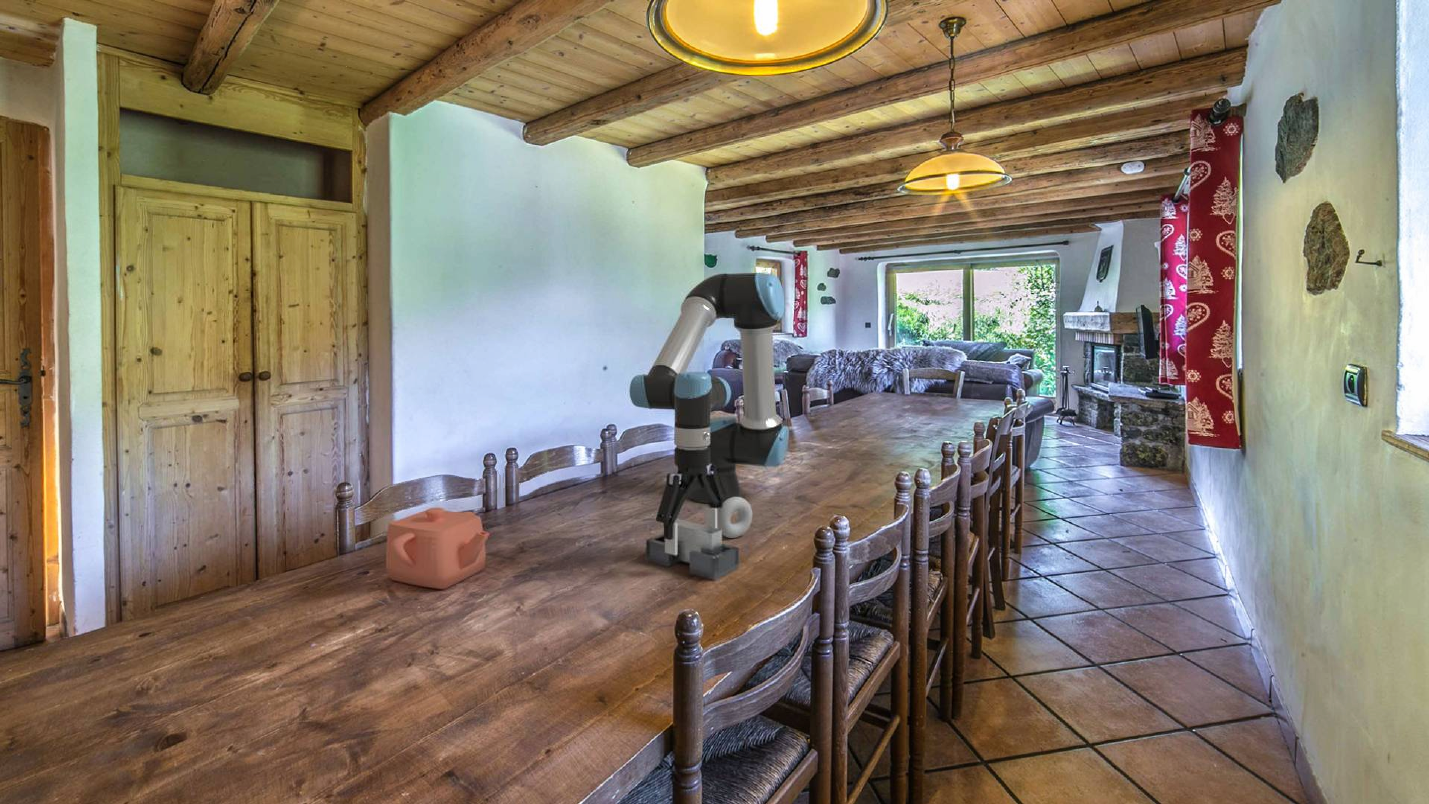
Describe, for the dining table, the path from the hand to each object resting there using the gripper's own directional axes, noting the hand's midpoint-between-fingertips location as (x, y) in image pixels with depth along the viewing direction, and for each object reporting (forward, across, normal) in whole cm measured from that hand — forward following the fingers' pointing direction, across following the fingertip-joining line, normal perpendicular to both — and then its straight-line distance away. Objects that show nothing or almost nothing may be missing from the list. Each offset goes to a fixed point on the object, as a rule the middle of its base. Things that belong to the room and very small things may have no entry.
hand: (691, 544), depth 144 cm
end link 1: (+4, 0, +6) cm, 7 cm away
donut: (+5, +20, +3) cm, 21 cm away
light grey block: (+3, 0, 0) cm, 3 cm away
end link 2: (+4, 0, -6) cm, 7 cm away
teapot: (+4, -36, +34) cm, 50 cm away
